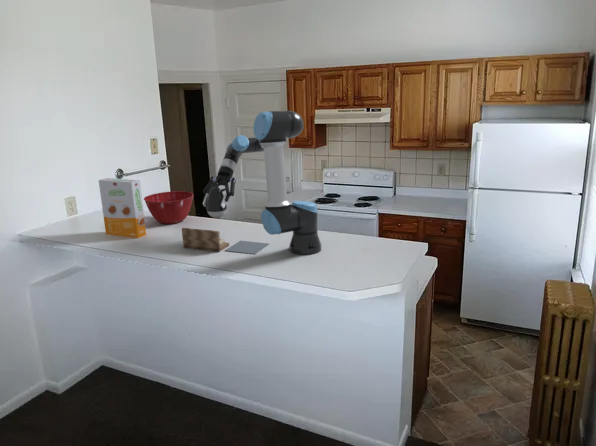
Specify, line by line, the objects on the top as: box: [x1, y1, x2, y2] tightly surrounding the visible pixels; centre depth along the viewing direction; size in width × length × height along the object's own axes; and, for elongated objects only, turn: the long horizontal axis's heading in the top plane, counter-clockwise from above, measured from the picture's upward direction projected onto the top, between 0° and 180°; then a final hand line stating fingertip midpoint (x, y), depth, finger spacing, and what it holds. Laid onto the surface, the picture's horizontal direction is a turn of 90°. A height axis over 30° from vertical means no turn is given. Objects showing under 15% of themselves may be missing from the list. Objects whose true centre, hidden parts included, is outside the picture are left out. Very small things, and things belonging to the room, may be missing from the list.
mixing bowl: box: [143, 190, 194, 225], centre depth 275 cm, size 28×28×16 cm
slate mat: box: [224, 240, 270, 255], centre depth 226 cm, size 16×16×1 cm
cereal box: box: [98, 177, 147, 239], centre depth 248 cm, size 22×6×30 cm, turn 66°
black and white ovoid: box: [205, 187, 228, 218], centre depth 233 cm, size 10×10×15 cm
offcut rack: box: [181, 227, 230, 253], centre depth 227 cm, size 20×10×10 cm, turn 69°
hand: (213, 206), depth 230 cm, fingers closed on black and white ovoid, 10 cm apart
